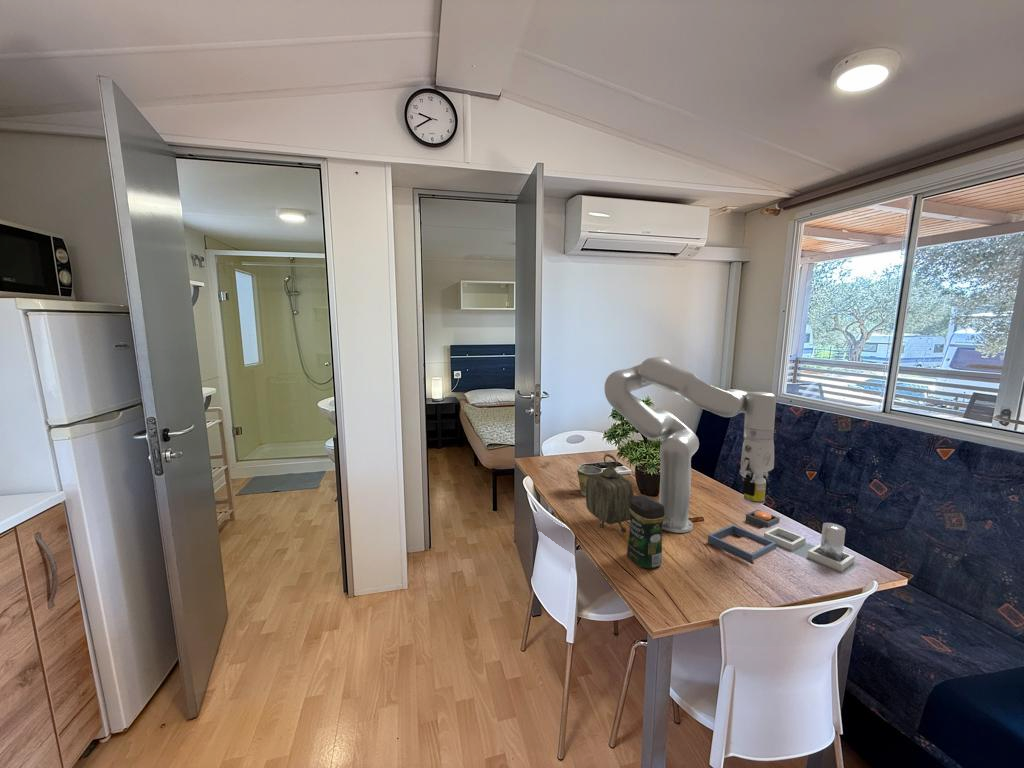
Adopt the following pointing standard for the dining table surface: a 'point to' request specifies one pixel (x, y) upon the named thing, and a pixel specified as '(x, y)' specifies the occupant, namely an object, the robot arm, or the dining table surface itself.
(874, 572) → the dining table surface
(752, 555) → the rectangular frame
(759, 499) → the supplement bottle
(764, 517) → the button
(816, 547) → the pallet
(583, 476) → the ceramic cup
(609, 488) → the olive drawstring pouch
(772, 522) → the button housing
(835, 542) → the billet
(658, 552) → the coffee jar
